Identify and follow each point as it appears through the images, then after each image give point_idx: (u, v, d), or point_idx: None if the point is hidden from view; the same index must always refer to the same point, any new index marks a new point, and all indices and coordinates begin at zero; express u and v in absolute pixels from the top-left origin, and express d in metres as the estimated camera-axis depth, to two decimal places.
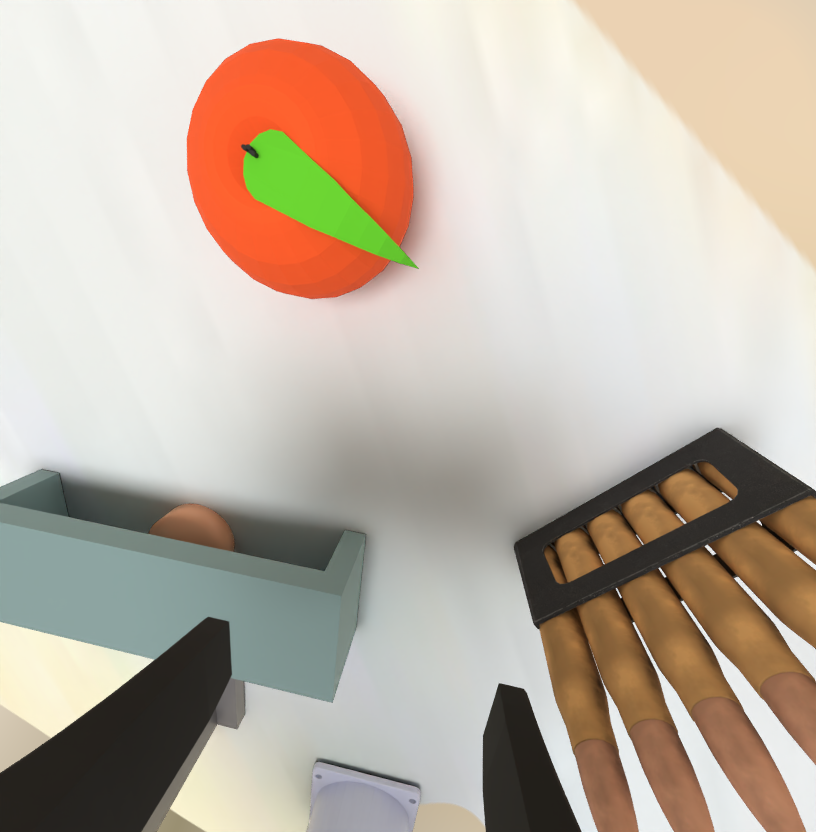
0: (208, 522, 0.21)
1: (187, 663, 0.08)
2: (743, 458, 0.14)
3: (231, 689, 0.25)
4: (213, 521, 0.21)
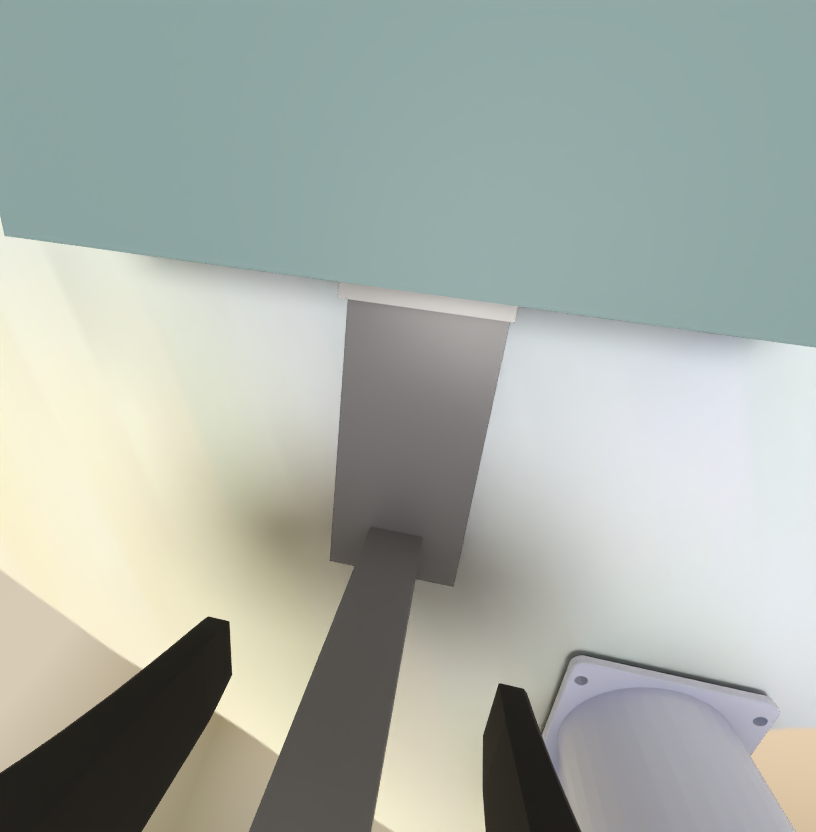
0: None
1: (188, 663, 0.08)
2: None
3: (465, 496, 0.13)
4: None
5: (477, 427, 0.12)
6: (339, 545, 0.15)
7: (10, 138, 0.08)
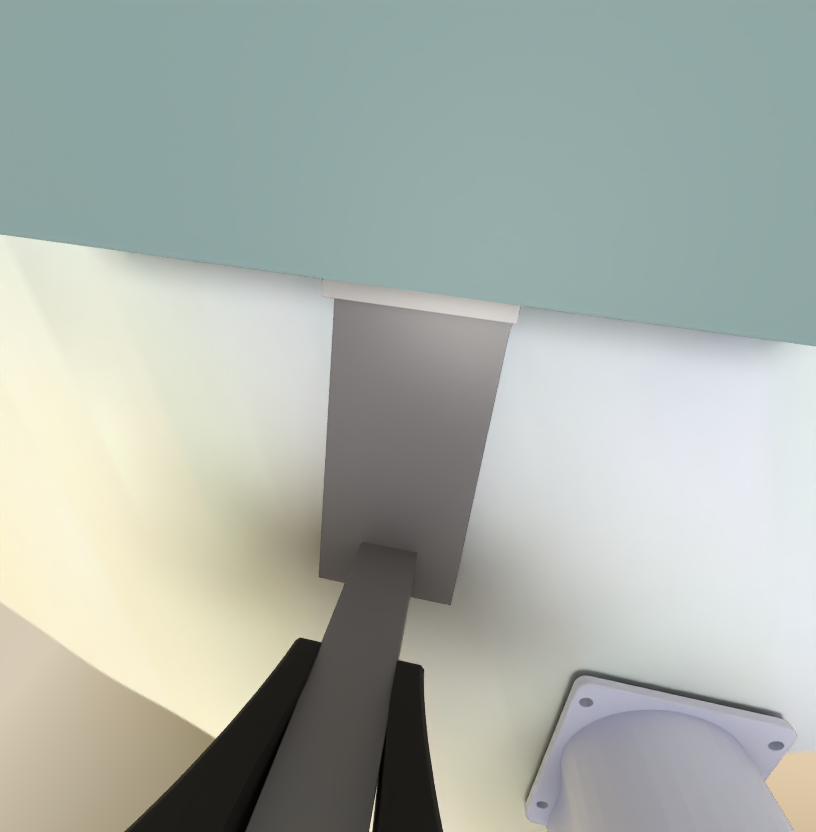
0: None
1: (296, 689, 0.08)
2: None
3: (463, 510, 0.12)
4: None
5: (476, 436, 0.11)
6: (328, 561, 0.14)
7: None
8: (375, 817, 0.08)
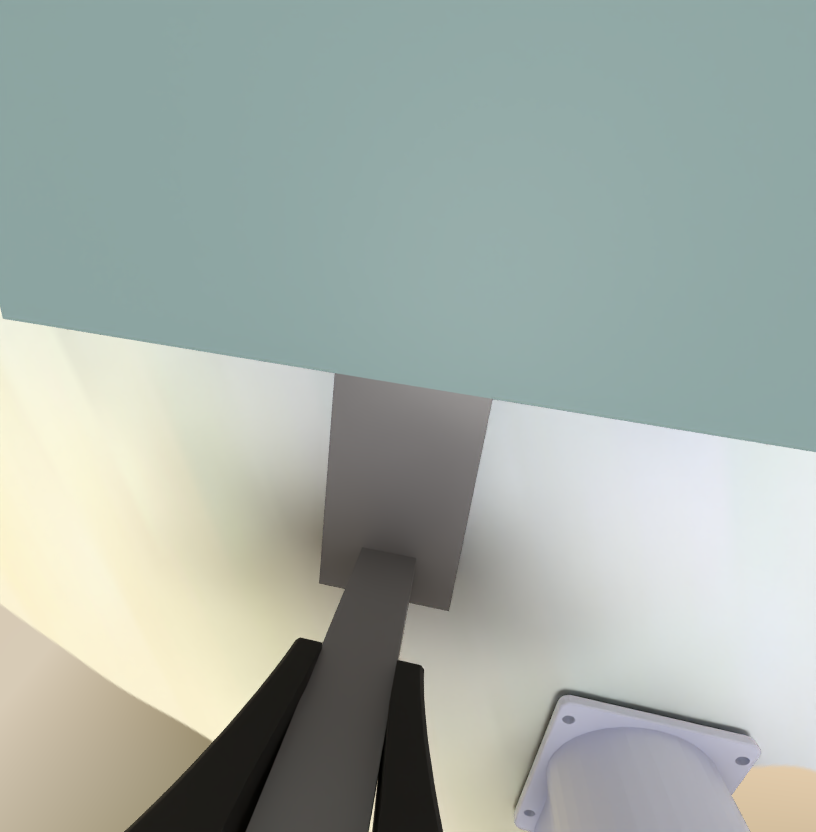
0: None
1: (296, 689, 0.08)
2: None
3: (461, 515, 0.13)
4: None
5: (472, 443, 0.12)
6: (329, 567, 0.14)
7: (9, 231, 0.09)
8: (375, 817, 0.08)
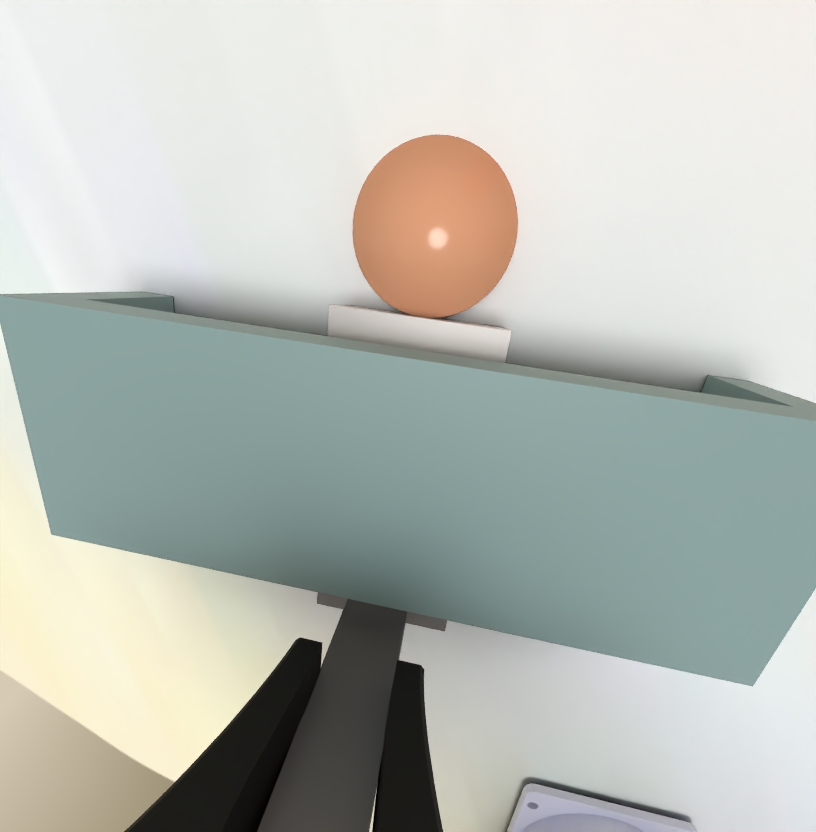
0: None
1: (296, 690, 0.08)
2: None
3: None
4: None
5: None
6: None
7: (59, 480, 0.11)
8: (375, 817, 0.08)
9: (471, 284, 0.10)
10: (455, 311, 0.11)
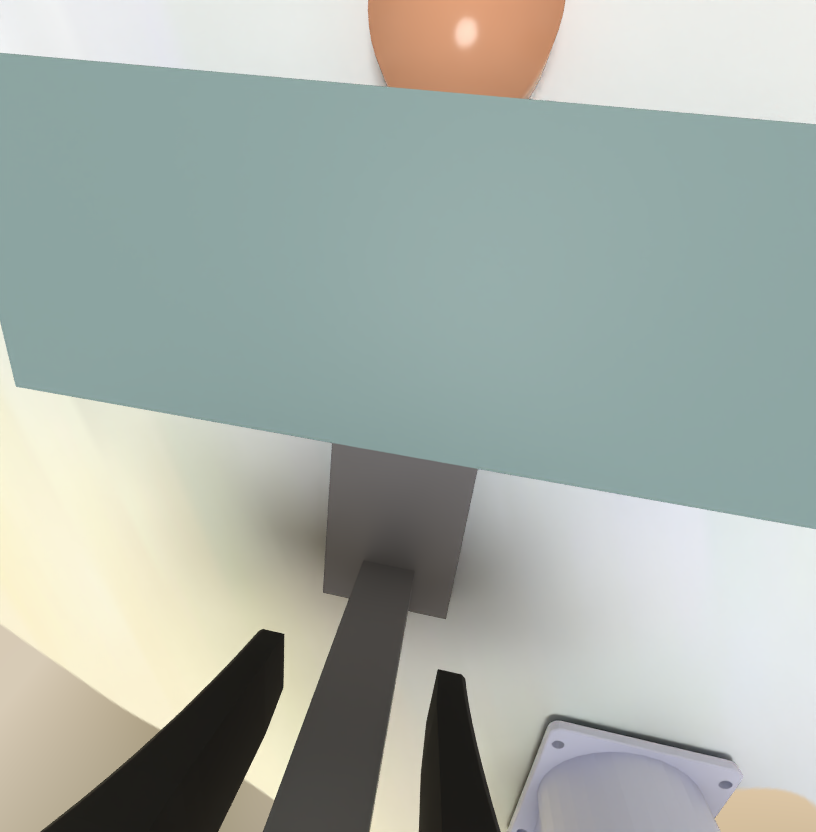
0: None
1: (251, 679, 0.08)
2: None
3: (457, 532, 0.13)
4: None
5: (468, 467, 0.12)
6: (332, 578, 0.15)
7: (22, 310, 0.09)
8: (425, 830, 0.08)
9: (509, 71, 0.09)
10: None
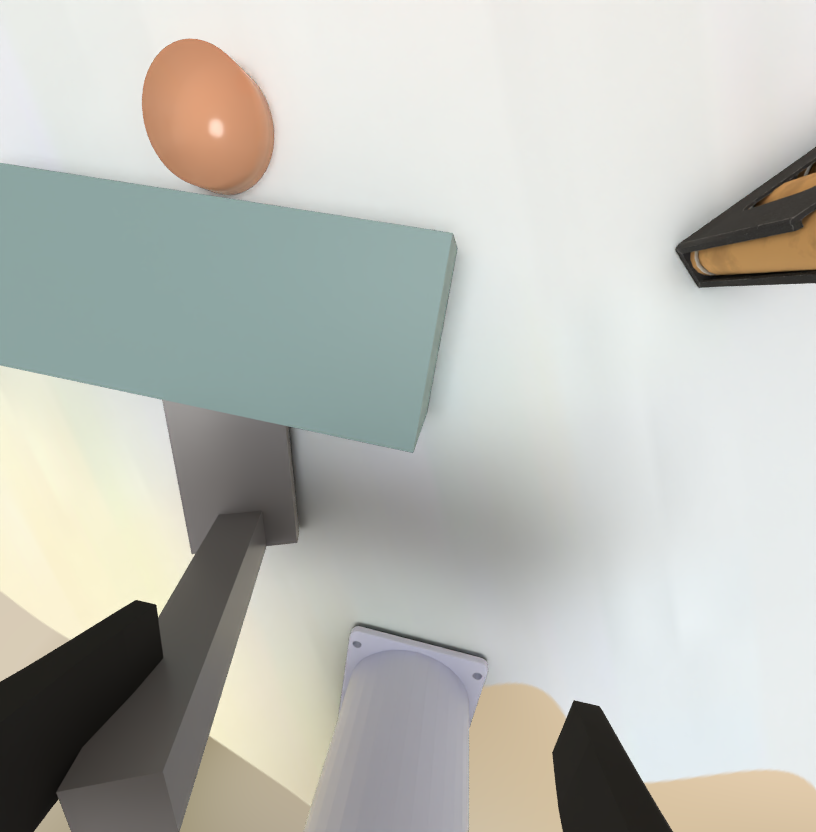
0: (238, 66, 0.13)
1: (103, 643, 0.09)
2: None
3: (284, 470, 0.18)
4: (246, 73, 0.14)
5: None
6: (196, 538, 0.18)
7: None
8: None
9: (230, 158, 0.14)
10: (222, 180, 0.14)
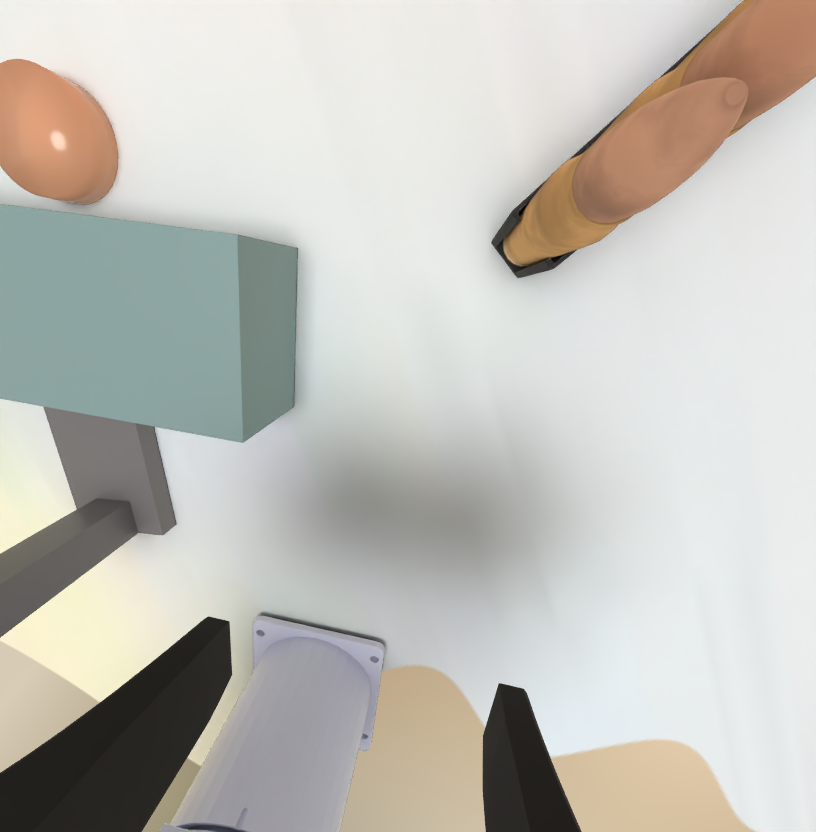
0: (68, 83, 0.14)
1: (187, 663, 0.08)
2: None
3: (142, 468, 0.19)
4: (78, 89, 0.14)
5: None
6: None
7: None
8: None
9: (68, 170, 0.15)
10: (64, 191, 0.15)
